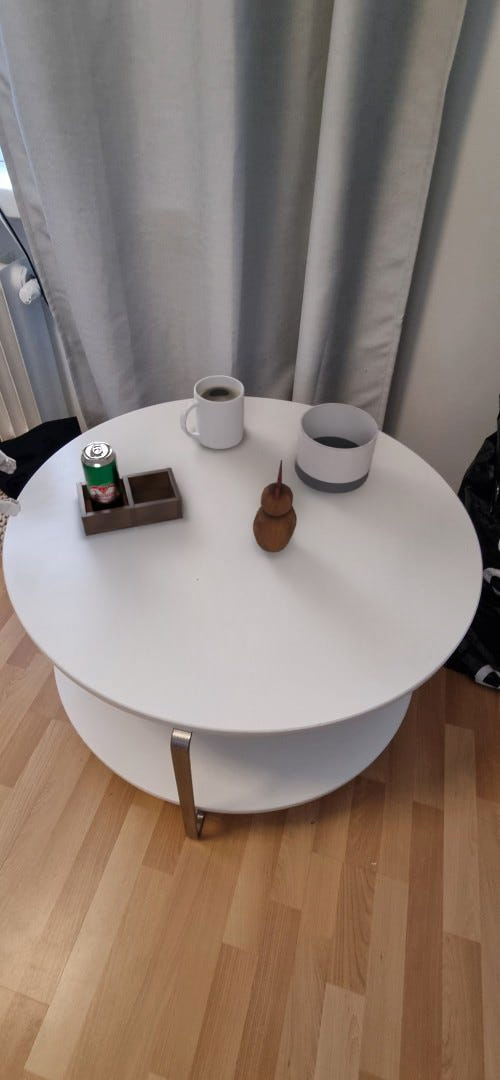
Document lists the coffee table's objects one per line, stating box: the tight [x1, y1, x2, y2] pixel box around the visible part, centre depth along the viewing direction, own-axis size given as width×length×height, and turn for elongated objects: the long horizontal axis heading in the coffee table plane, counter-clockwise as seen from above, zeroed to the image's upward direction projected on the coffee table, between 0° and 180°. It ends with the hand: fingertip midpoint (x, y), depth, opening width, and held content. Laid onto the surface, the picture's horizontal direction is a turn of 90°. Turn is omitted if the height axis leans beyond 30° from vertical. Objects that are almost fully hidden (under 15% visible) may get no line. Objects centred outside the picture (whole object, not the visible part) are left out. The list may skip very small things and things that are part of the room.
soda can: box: [80, 441, 124, 512], centre depth 89 cm, size 5×5×12 cm
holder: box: [75, 467, 184, 537], centre depth 94 cm, size 15×8×4 cm, turn 107°
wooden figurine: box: [252, 459, 298, 553], centre depth 86 cm, size 7×6×15 cm
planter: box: [294, 402, 380, 494], centre depth 99 cm, size 13×13×10 cm
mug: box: [179, 374, 245, 450], centre depth 106 cm, size 11×10×10 cm
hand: (16, 488), depth 85 cm, fingers open, 8 cm apart
